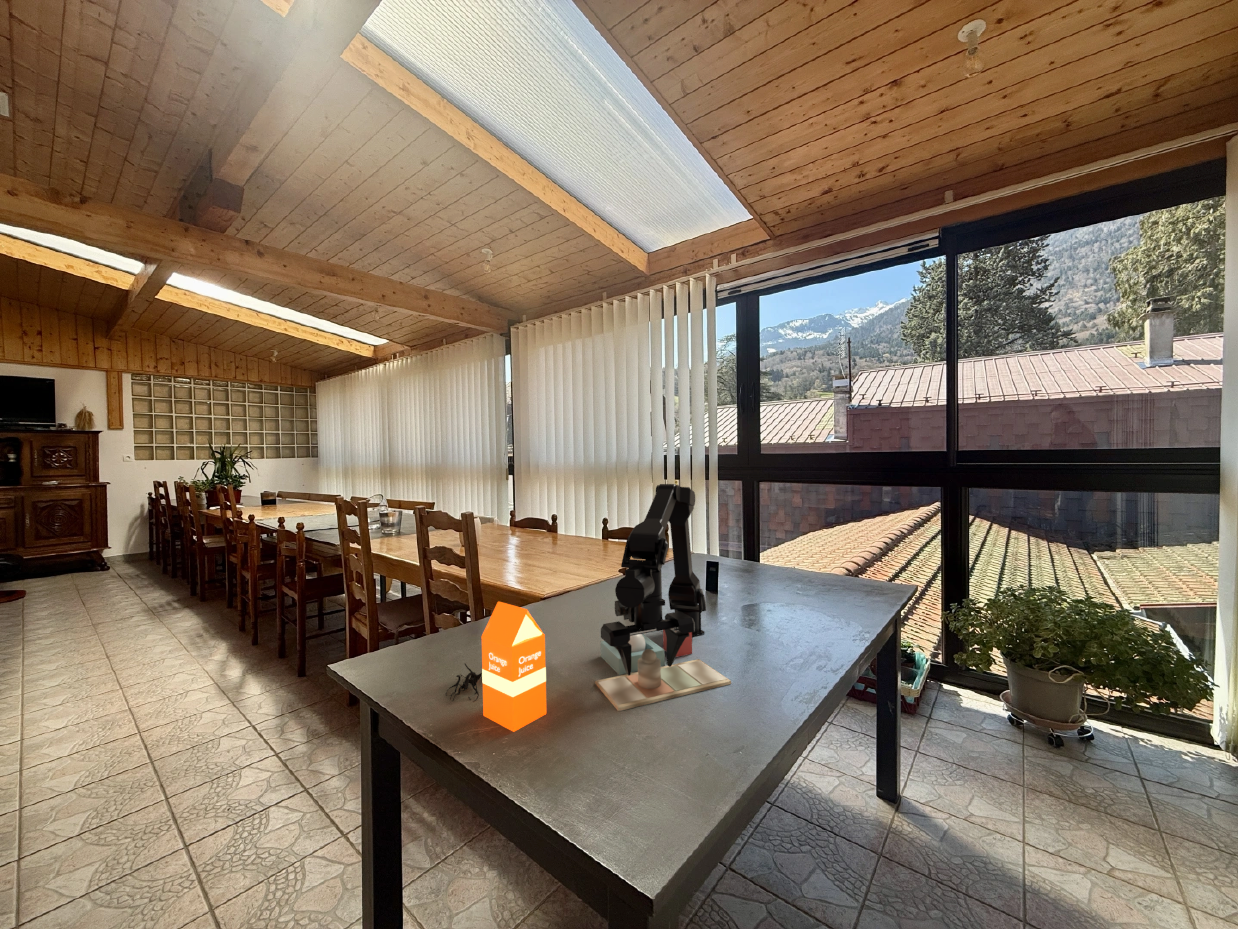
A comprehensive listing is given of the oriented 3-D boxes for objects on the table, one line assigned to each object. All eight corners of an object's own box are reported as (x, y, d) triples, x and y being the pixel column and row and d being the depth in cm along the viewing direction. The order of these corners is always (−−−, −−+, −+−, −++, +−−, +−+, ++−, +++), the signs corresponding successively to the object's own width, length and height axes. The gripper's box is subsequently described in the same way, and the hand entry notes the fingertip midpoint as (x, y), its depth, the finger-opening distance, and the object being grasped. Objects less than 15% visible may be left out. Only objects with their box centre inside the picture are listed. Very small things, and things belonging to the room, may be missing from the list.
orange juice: (516, 699, 94) (514, 596, 94) (547, 713, 89) (545, 604, 88) (482, 716, 88) (479, 606, 88) (513, 732, 82) (510, 615, 82)
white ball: (638, 650, 115) (637, 624, 115) (650, 661, 109) (650, 632, 109) (613, 655, 112) (612, 628, 112) (624, 666, 107) (624, 637, 106)
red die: (681, 646, 119) (680, 625, 119) (692, 653, 114) (691, 632, 114) (663, 649, 117) (662, 628, 117) (673, 657, 112) (673, 635, 112)
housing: (642, 648, 118) (642, 634, 118) (664, 665, 108) (664, 650, 108) (600, 656, 114) (600, 641, 114) (619, 675, 104) (618, 659, 103)
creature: (468, 713, 91) (495, 686, 98) (463, 688, 90) (490, 662, 97) (437, 705, 95) (465, 679, 102) (432, 680, 94) (461, 656, 101)
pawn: (654, 676, 101) (653, 643, 101) (665, 686, 97) (664, 651, 97) (634, 681, 99) (633, 647, 99) (644, 690, 95) (643, 655, 95)
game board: (699, 661, 110) (698, 658, 110) (731, 683, 99) (731, 680, 99) (595, 683, 100) (595, 680, 100) (618, 711, 89) (618, 707, 89)
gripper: (668, 579, 109) (670, 648, 109) (590, 589, 102) (592, 663, 102) (695, 591, 99) (696, 667, 99) (610, 603, 91) (612, 686, 91)
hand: (649, 670), depth 98 cm, fingers open, 9 cm apart
